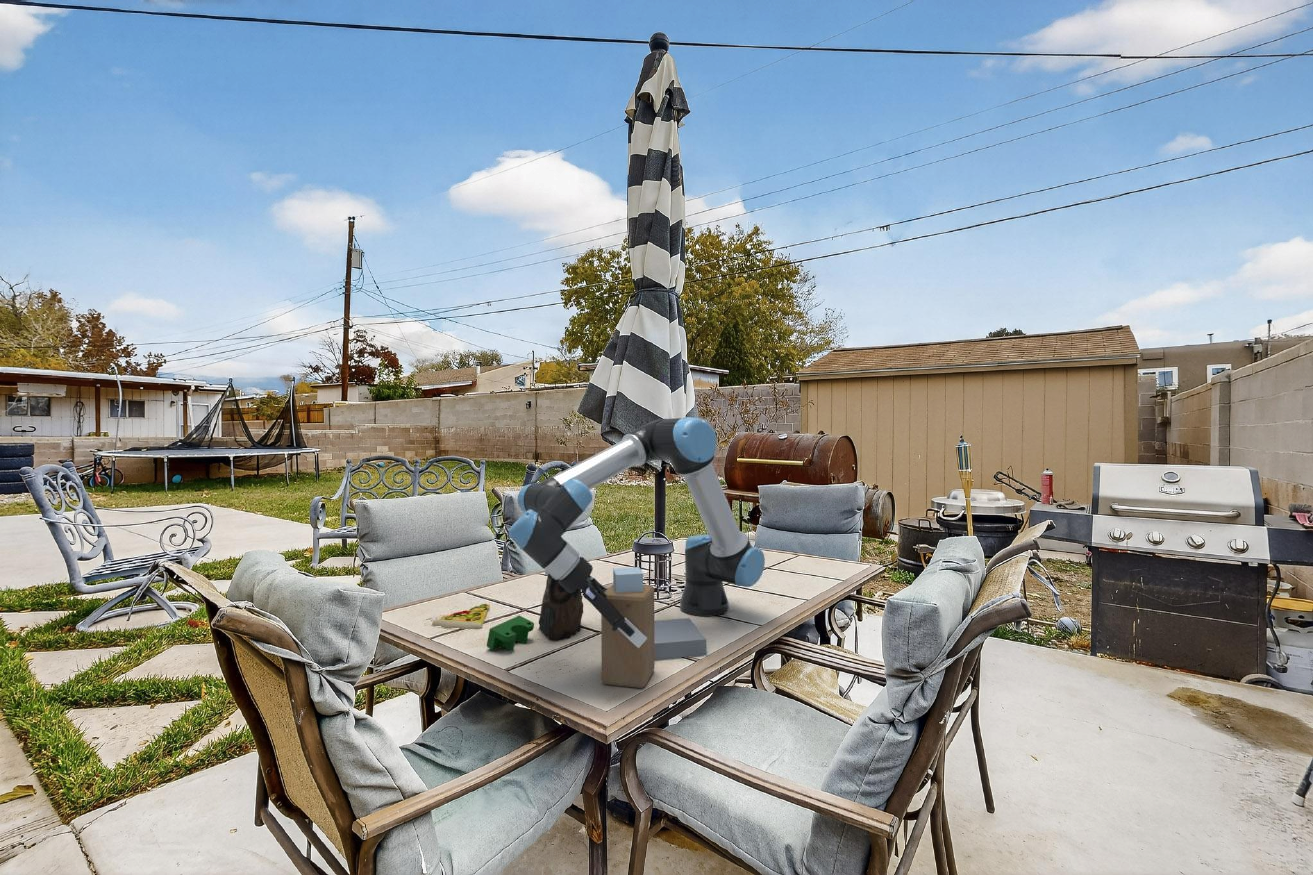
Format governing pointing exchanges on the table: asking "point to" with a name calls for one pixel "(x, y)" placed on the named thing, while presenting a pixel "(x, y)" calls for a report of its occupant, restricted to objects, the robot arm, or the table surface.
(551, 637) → the owl
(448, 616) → the pizza slice
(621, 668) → the wooden block
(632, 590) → the box
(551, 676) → the table surface
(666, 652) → the dock
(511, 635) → the clamp
